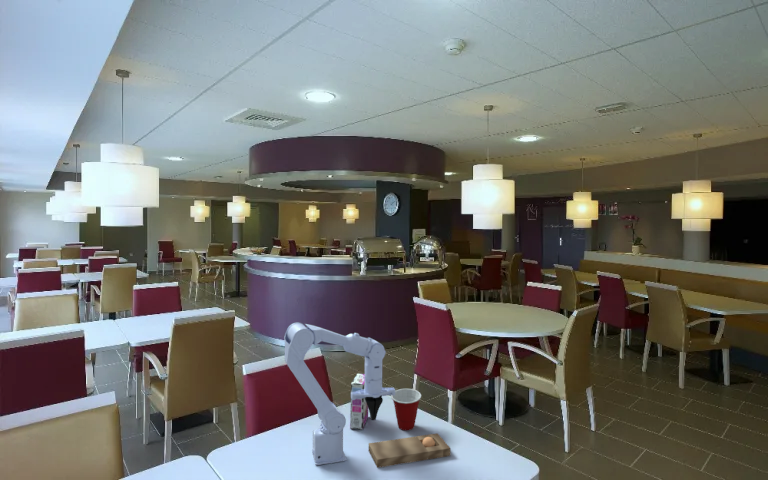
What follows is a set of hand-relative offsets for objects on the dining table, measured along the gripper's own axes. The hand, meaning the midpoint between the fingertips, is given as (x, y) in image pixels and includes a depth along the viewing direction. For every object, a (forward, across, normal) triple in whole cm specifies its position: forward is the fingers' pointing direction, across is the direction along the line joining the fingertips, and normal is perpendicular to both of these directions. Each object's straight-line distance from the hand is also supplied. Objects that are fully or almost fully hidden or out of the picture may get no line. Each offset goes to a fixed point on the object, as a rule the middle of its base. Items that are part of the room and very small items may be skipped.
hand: (373, 418), depth 141 cm
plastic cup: (+10, +15, +10) cm, 20 cm away
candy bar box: (+10, 0, +18) cm, 20 cm away
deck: (+9, +10, -7) cm, 15 cm away
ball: (+7, +17, -7) cm, 19 cm away
